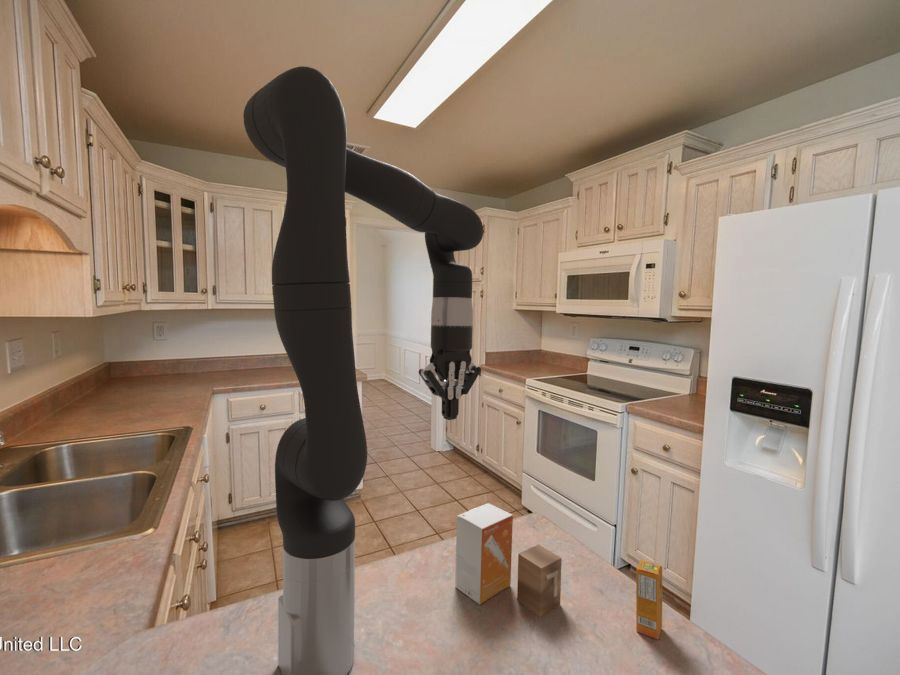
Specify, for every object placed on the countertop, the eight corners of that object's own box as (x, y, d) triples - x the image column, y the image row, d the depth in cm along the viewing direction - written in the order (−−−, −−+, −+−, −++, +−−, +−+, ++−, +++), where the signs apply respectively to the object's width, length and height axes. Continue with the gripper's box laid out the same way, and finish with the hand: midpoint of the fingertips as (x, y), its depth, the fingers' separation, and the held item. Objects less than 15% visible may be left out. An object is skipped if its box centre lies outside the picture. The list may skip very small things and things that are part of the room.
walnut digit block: (541, 618, 66) (542, 569, 65) (517, 599, 70) (518, 553, 70) (561, 605, 69) (562, 558, 68) (537, 588, 73) (538, 544, 72)
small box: (480, 606, 68) (481, 529, 67) (454, 587, 73) (455, 514, 72) (512, 586, 73) (513, 514, 73) (485, 569, 78) (487, 501, 78)
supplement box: (638, 618, 66) (640, 557, 65) (662, 628, 64) (664, 565, 63) (633, 631, 63) (636, 567, 63) (658, 641, 61) (661, 576, 61)
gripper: (433, 323, 68) (431, 428, 68) (493, 324, 75) (490, 418, 76) (409, 322, 74) (408, 419, 74) (467, 323, 81) (465, 410, 82)
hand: (450, 418), depth 75 cm, fingers closed
